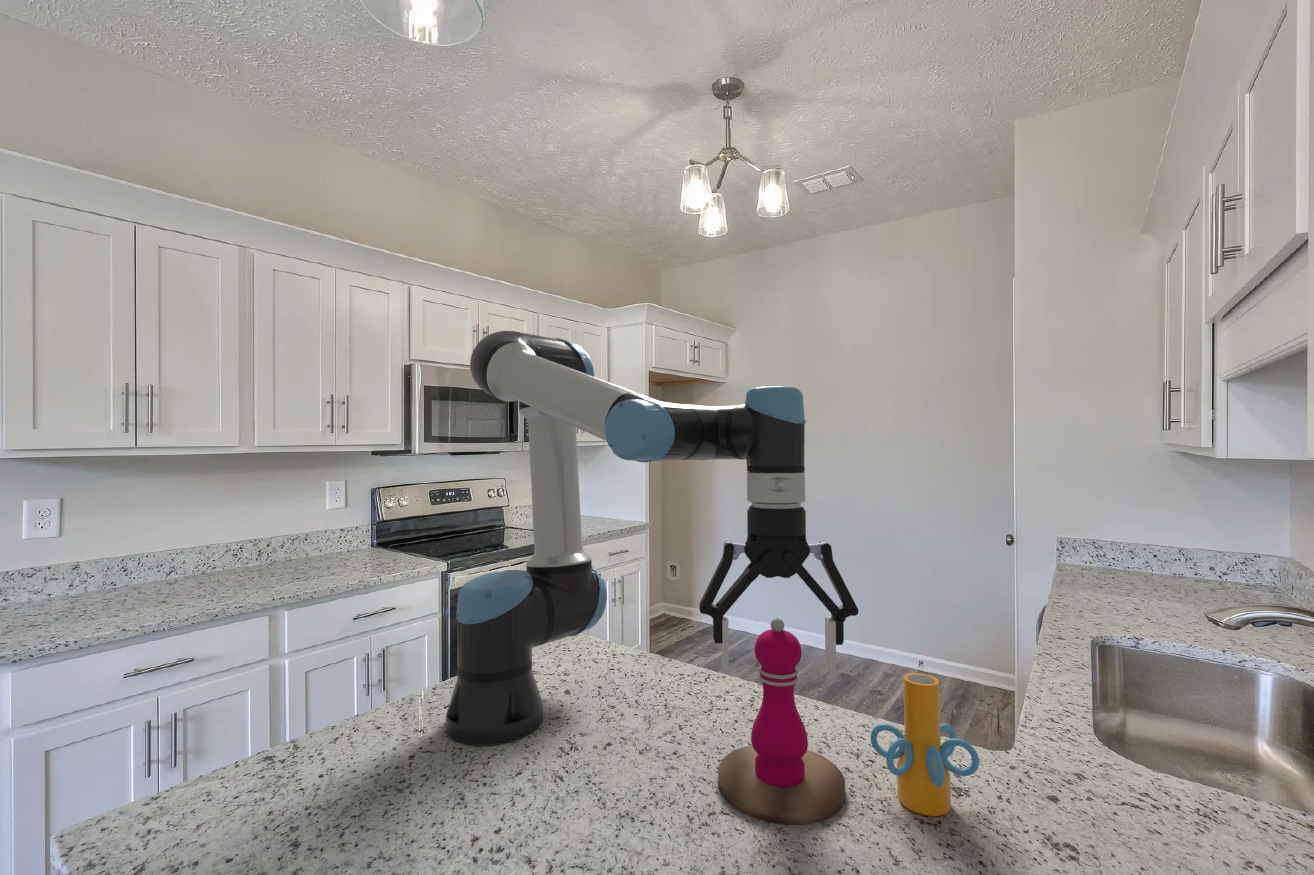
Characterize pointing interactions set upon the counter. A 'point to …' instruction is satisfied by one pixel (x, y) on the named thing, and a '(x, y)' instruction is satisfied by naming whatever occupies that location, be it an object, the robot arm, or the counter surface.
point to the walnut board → (782, 790)
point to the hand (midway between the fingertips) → (777, 668)
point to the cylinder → (923, 750)
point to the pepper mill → (778, 710)
